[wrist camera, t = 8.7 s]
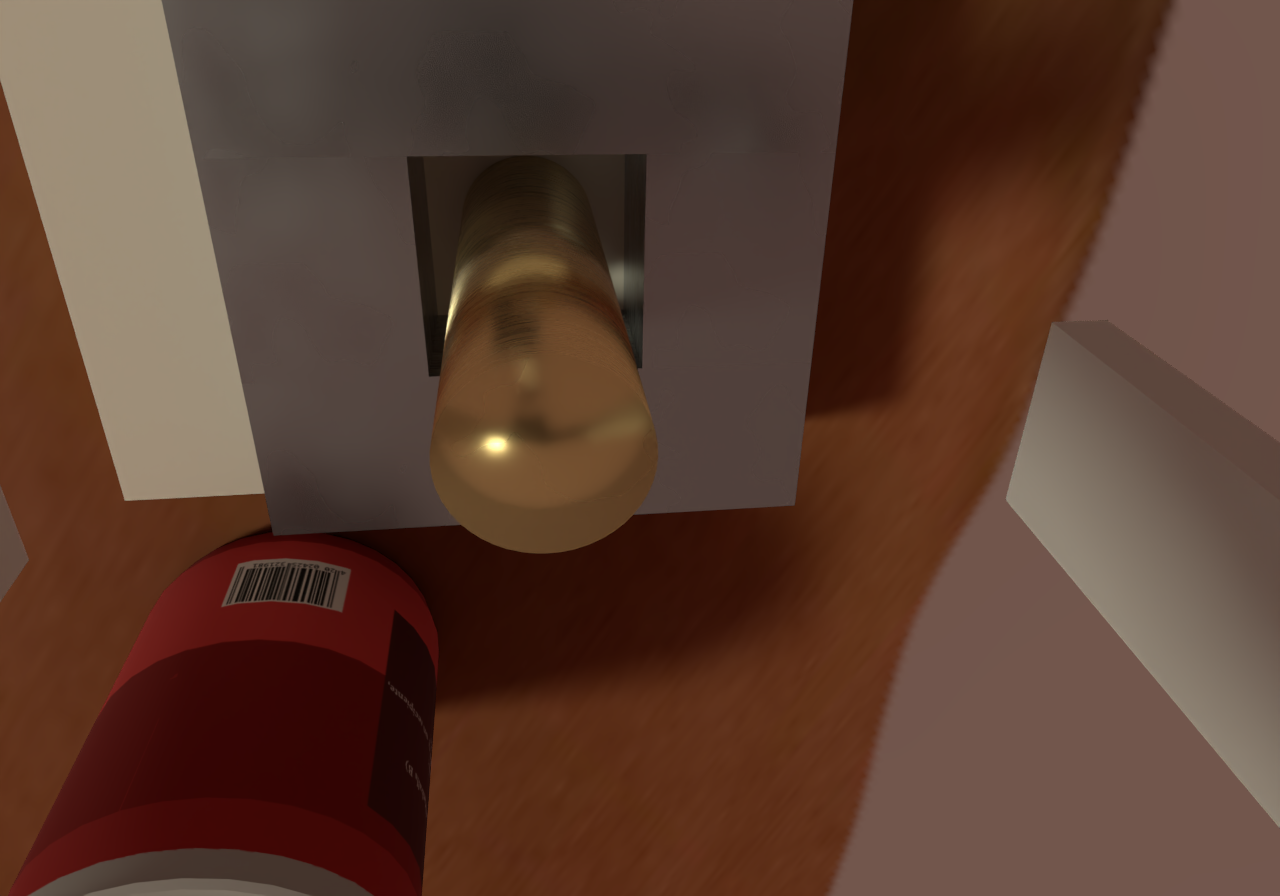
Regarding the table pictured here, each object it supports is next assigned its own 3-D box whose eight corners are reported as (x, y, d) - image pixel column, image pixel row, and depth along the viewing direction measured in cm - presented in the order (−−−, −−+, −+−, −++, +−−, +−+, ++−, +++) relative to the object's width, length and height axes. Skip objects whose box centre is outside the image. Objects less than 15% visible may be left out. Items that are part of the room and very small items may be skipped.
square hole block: (203, -80, 18) (144, -79, 15) (805, -69, 20) (861, -66, 17) (301, 457, 24) (273, 535, 21) (759, 435, 26) (794, 505, 23)
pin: (457, 155, 21) (420, 358, 12) (592, 155, 21) (663, 353, 12) (466, 284, 22) (439, 558, 13) (592, 282, 23) (654, 548, 13)
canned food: (91, 612, 26) (-140, 1012, 17) (323, 470, 25) (216, 813, 15) (282, 766, 30) (182, 1165, 20) (492, 648, 29) (490, 1013, 19)
